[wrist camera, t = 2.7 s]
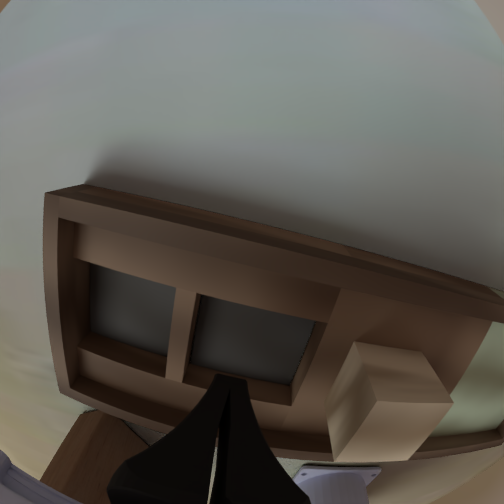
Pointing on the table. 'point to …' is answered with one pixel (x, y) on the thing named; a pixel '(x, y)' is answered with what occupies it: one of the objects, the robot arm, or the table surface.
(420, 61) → the table surface
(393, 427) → the maple block
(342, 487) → the robot arm
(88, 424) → the wooden block
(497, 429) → the track
